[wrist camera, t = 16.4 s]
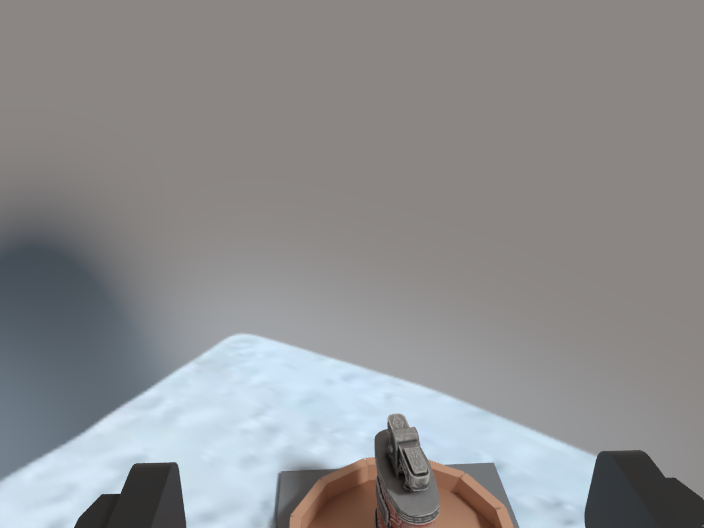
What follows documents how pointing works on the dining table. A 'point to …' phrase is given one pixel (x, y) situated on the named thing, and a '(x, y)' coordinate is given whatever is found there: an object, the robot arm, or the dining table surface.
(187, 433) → the dining table surface
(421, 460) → the lighter
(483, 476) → the mat
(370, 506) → the dish
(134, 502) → the robot arm
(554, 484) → the dining table surface
